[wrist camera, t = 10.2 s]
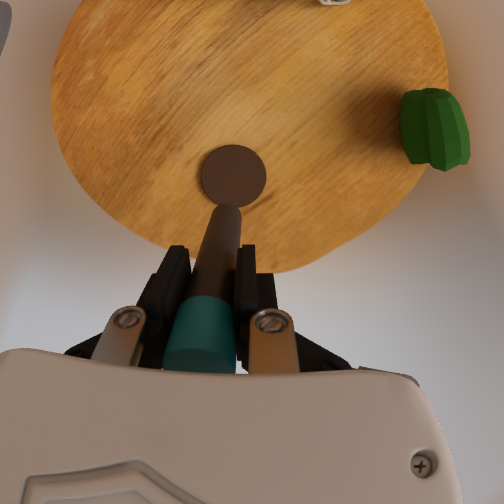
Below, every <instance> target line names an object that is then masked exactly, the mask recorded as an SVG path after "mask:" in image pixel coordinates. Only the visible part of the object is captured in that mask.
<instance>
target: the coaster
mask: <svg viewBox="0 0 504 504" xmlns="http://www.w3.org/2000/svg"><path fill="white" fill-rule="evenodd" d="M201 182H202V186H203V189H204V191H205V192H206V194H207V195H208V197H209V198H210V199H211V200H213V201H214V202H215V203H217V204H219V205H220V204H224V203H229V204H233V205H235V206H236V207H237V208H239V207H243V206H246V205H248V204H250V203H252V202H253V201H255V200H256V199H257V198H258V197H259V196H260V194H261V193H262V191H263V189H264V187H265V183H266V170H265V167H264V164H263V162H262V160H261V159H260V157H259V156H258V155H257V154H256V153H255V152H254V151H252V150H251V149H249V148H247V147H244V146H240V145H227V146H223V147H221V148H219V149H217V150H215V151H214V152H212V153H211V154H210V155H209V157H208V158H207V159H206V161H205V162H204V164H203V167H202V171H201Z"/></svg>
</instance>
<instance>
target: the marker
mask: <svg viewBox="0 0 504 504" xmlns="http://www.w3.org/2000/svg"><path fill="white" fill-rule="evenodd" d="M241 220H242V216H241V212H240V210H239V209H238V208H237V207H236V206H235V205H233V204H229V203H224V204H220V205H218V206H217V207H216V208H215V209H214V210H213V213H212V215H211V218H210V221H209V224H208V227H207V230H206V232H205V235H204V238H203V241H202V244H201V247H200V250H199V253H198V256H197V259H196V262H195V265H194V268H193V271H192V274H191V278H190V281H189V284H188V287H187V290H186V293H185V297H184V300H183V303H182V304H181V305H180V306H179V308H178V310H177V313H176V316H175V320H174V323H173V326H172V329H171V333H170V336H169V339H168V343H167V346H166V350H165V353H164V357H163V361H162V366H163V370H169V371H182V372H197V373H220V374H235V372H236V350H237V333H236V330H235V323H234V286H235V274H236V261H237V249H238V248H240V234H241Z"/></svg>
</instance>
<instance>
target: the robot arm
mask: <svg viewBox="0 0 504 504" xmlns="http://www.w3.org/2000/svg"><path fill="white" fill-rule="evenodd" d="M191 274H192V273H191V266H190V258H189V250H188V248H184V246H183V245H171V246H170V248H169V250H168V252H167V253H166V255H165V257H164V259H163V261H162V263H161V265H160V267H159V269H158V271H157V273H153V274H152V275H151V277H150V279H149V281H148V282H147V284H146V287H145V288H144V290H143V292H142V294H141V296H140V298H139V300H138V302H137V304H136V306H126V307H123V308H120V309H118V310H117V311H115V312H114V313H113V314H112V316H111V317H110V319H109V321H108V323H107V325H106V327H105V329H104V331H103V332H102V333H100V334H98V335H96V336H94V337H92V338H90V339H88V340H86V341H84V342H82V343H80V344H77V345H76V346H73V347H71V348H70V349H68V350H67V351H66V352H65V353H64V354H59V353H54V352H48V351H44V350H38V349H30V348H19V349H11V350H8V351H5V352H2V353H0V504H464V503H463V498H462V493H461V488H460V484H459V480H458V476H457V473H456V469H455V466H454V462H453V459H452V456H451V452H450V449H449V446H448V443H447V440H446V438H445V435H444V433H443V430H442V428H441V425H440V423H439V420H438V418H437V416H436V414H435V412H434V410H433V408H432V406H431V404H430V403H429V401H428V399H427V397H426V396H425V394H424V393H423V392H422V390H421V389H420V387H419V384H418V382H417V381H416V380H415V379H414V378H413V377H411V376H408V375H405V374H399V373H393V372H388V371H382V370H377V369H371V368H366V367H361V366H359V368H358V369H355V368H352V367H351V366H350V365H349V363H348V362H347V361H345V360H344V359H342V358H341V357H339V356H337V355H335V354H333V353H332V352H330V351H328V350H326V349H324V348H323V347H321V346H319V345H317V344H316V343H314V342H312V341H310V340H309V339H307V338H305V337H303V336H302V335H300V334H298V333H297V332H295V331H294V325H293V320H292V318H291V316H290V315H289V314H288V313H286V312H285V311H283V310H279V309H278V306H277V298H276V290H275V283H274V275H273V273H256V261H255V245H242V248H238V249H237V261H236V274H235V286H234V323H235V330H236V333H237V350H236V354H237V361H241V362H242V368H243V369H245V370H246V371H247V372H248V374H220V373H197V372H182V371H169V370H163V366H162V361H163V357H164V353H165V350H166V346H167V343H168V339H169V336H170V333H171V329H172V326H173V323H174V320H175V316H176V313H177V310H178V308H179V306H180V305H181V304H182V303H183V300H184V297H185V293H186V290H187V287H188V284H189V281H190V278H191Z"/></svg>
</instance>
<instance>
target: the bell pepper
mask: <svg viewBox="0 0 504 504" xmlns="http://www.w3.org/2000/svg"><path fill="white" fill-rule="evenodd" d="M400 133H401V139H402V145H403V148H404V150H405V152H406V155H407V157H408V159H409V160H410V162H411V164H424V163H430V164H431V166H432V167H433V168H435V169H439V170H442V171H445V172H446V171H447V170H450V169H452V168H453V167H455V166H457V165H462V164H467V162H468V160H469V158H470V140H469V131H468V128H467V124H466V121H465V118H464V115H463V112H462V110H461V107H460V105H459V103H458V102H457V100H456V99H455V97H454V96H452V94H451V93H450V92H448V91H446V90H444V89H437V88H426V89H422V90H413V91H408V92H406V93H405V94H404V95H403V98H402V100H401V110H400Z"/></svg>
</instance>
